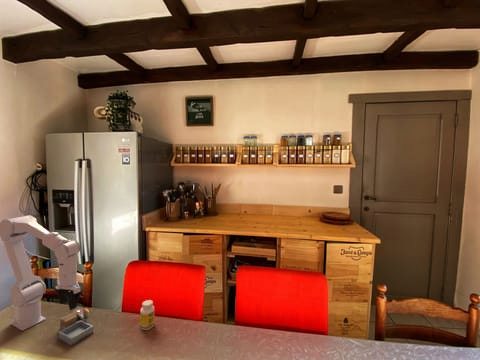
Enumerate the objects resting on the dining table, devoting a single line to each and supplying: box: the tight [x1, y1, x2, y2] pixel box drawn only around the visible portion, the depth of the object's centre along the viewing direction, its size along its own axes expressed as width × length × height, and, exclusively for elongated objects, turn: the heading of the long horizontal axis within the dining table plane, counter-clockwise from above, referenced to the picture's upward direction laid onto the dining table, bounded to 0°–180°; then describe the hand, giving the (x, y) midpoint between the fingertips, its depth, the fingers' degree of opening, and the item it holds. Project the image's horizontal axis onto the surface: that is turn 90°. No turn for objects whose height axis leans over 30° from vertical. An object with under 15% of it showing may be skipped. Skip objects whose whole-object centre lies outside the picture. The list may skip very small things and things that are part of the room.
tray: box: [58, 319, 94, 347], centre depth 89 cm, size 8×8×2 cm
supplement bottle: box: [139, 299, 155, 331], centre depth 95 cm, size 5×5×10 cm
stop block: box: [59, 312, 78, 331], centre depth 93 cm, size 4×4×4 cm
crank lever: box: [71, 307, 90, 322], centre depth 99 cm, size 12×4×6 cm, turn 55°
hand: (68, 305), depth 93 cm, fingers open, 7 cm apart
